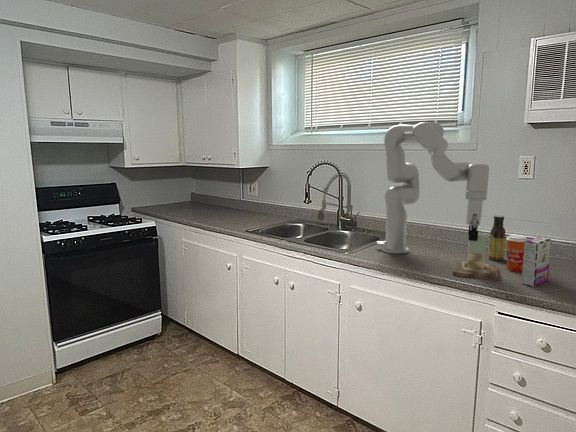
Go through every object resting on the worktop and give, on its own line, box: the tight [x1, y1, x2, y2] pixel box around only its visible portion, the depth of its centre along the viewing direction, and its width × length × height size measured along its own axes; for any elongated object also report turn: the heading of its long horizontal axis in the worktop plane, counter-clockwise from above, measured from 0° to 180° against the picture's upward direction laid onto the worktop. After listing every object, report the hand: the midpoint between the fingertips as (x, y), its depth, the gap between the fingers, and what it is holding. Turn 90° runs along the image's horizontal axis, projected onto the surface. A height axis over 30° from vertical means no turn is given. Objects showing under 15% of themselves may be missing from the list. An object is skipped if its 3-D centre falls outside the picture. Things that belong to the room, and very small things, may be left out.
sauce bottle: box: [488, 214, 507, 262], centre depth 185 cm, size 6×6×20 cm
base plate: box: [452, 261, 500, 281], centre depth 168 cm, size 16×16×2 cm
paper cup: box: [505, 234, 528, 273], centre depth 169 cm, size 8×8×14 cm
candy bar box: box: [521, 236, 552, 287], centre depth 154 cm, size 11×5×16 cm, turn 126°
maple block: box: [466, 252, 486, 270], centre depth 167 cm, size 6×6×7 cm
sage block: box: [467, 232, 487, 255], centre depth 166 cm, size 6×6×7 cm
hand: (472, 237), depth 167 cm, fingers open, 9 cm apart
